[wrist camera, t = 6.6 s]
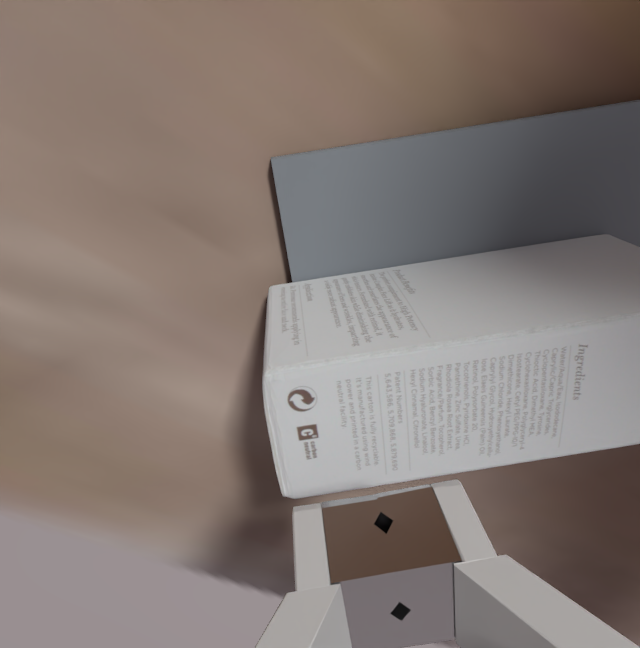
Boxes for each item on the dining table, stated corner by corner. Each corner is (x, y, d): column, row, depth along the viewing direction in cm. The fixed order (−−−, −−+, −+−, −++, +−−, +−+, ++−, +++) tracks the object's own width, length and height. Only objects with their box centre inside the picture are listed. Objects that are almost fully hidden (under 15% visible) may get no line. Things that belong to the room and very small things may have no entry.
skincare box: (280, 509, 13) (729, 451, 13) (252, 363, 11) (781, 297, 11) (282, 383, 18) (595, 344, 18) (263, 272, 16) (614, 229, 16)
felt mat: (673, 94, 15) (686, 94, 15) (627, 384, 20) (635, 390, 20) (270, 157, 15) (270, 159, 15) (319, 436, 20) (320, 444, 19)
